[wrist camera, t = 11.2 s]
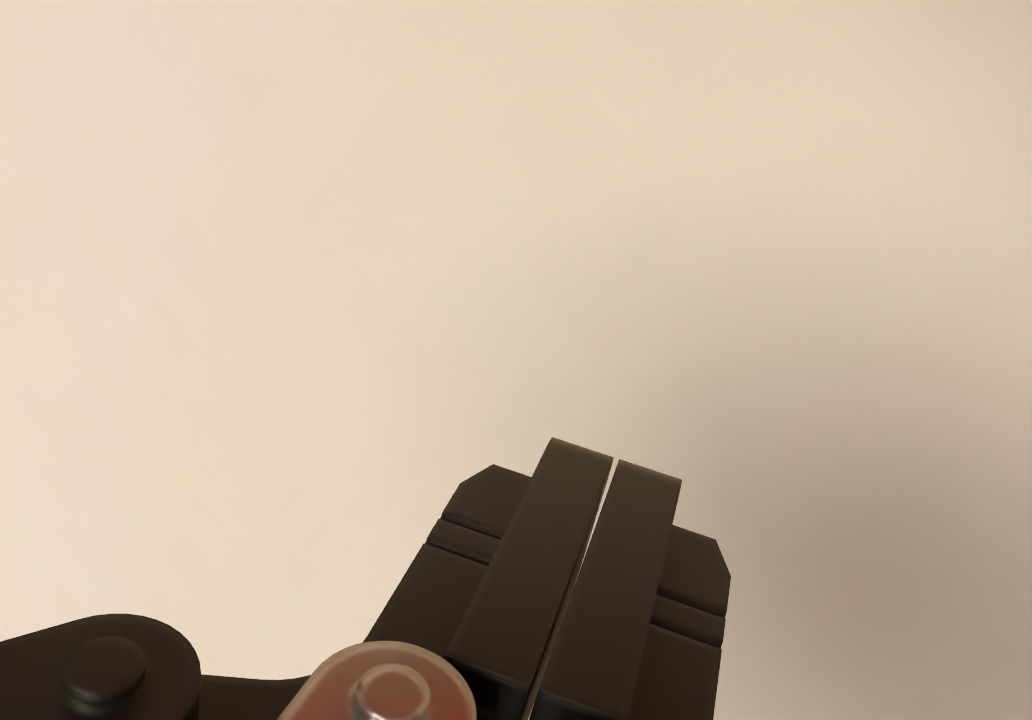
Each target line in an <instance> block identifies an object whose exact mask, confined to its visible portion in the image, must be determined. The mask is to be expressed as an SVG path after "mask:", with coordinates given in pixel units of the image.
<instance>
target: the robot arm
mask: <svg viewBox="0 0 1032 720" xmlns="http://www.w3.org/2000/svg"><path fill="white" fill-rule="evenodd" d="M613 459H614V457H611V456H607V455H604V454H601V453H598V452H595V451H592V450H589V449H586V448H583V447H580V446H577V445H574V444H571V443H568V442H565V441H562V440H559V439H556V438H553V437H552V438H551V440H550V441H549V443H548V445H547V447H546V449H545V451H544V453H543V455H542V457H541V459H540V462H539V464H538V466H537V468H536V470H535V472H534V474H533V476H532V477H529V476H526V475H523V474H520V473H517V472H514V471H511V470H508V469H505V468H502V467H500V466H497V465H494V464H493V465H491V466H489V467H488V468H486V469H484V470H482V471H481V472H479V473H477V474H476V475H474V476H472V477H470V478H469V479H467V480H465V481H463V482H462V483H460V485H459V486H458V488H457V490H456V491H455V493H454V494H453V496H452V498H451V499H450V501H449V503H448V504H447V506H446V508H445V509H444V511H443V513H442V516H441V518H440V519H438V521H437V522H436V524H435V526H434V527H433V529H432V531H431V532H430V534H429V536H428V538H427V541H426V543H425V544H423V545H422V547H421V549H420V550H419V552H418V554H417V555H416V557H415V559H414V560H413V562H412V563H411V565H410V567H409V568H408V570H407V572H406V573H405V575H404V577H403V578H402V580H401V582H400V583H399V585H398V586H397V588H396V590H395V591H394V593H393V595H392V596H391V598H390V600H389V601H388V603H387V605H386V606H385V608H384V610H383V611H382V613H381V614H380V616H379V618H378V619H377V621H376V623H375V624H374V626H373V628H372V629H371V631H370V633H369V634H368V636H367V637H366V639H365V640H364V641H363V643H360V644H356V645H353V646H350V647H347V648H345V649H343V650H341V651H339V652H337V653H335V654H333V655H332V656H331V657H329V658H328V659H326V660H325V661H324V662H323V663H322V664H321V665H320V666H319V667H318V668H317V669H316V670H315V671H314V672H313V673H312V675H309V676H305V677H300V678H295V679H285V680H259V679H247V678H236V677H224V676H213V675H201V670H200V662H199V659H198V657H197V654H196V651H195V650H194V648H193V647H192V645H191V644H190V642H189V641H188V640H187V639H186V638H185V637H184V636H183V635H182V634H181V633H180V632H178V631H177V630H175V629H174V628H172V627H171V626H169V625H167V624H165V623H163V622H160V621H158V620H156V619H152V618H148V617H145V616H139V615H132V614H105V615H96V616H91V617H87V618H83V619H78V620H75V621H71V622H68V623H64V624H61V625H57V626H54V627H50V628H47V629H43V630H40V631H36V632H33V633H29V634H26V635H22V636H19V637H15V638H12V639H8V640H5V641H2V642H0V720H528V719H529V720H713V715H714V707H715V700H716V692H717V684H718V676H719V668H720V660H721V652H722V649H721V645H722V642H723V636H724V628H725V620H726V619H725V615H726V612H727V604H728V597H729V589H730V581H731V575H730V573H729V570H728V568H727V566H726V563H725V561H724V558H723V556H722V554H721V551H720V549H719V546H718V544H717V541H716V540H715V539H712V538H709V537H706V536H703V535H701V534H698V533H695V532H692V531H689V530H686V529H683V528H680V527H677V526H674V525H672V523H673V518H674V514H675V510H676V505H677V501H678V497H679V492H680V488H681V483H682V480H681V479H678V478H675V477H672V476H669V475H666V474H663V473H659V472H656V471H653V470H650V469H647V468H644V467H641V466H638V465H635V464H632V463H629V462H626V461H623V460H620V459H619V461H618V464H617V467H616V470H615V473H614V475H613V478H612V481H611V484H610V487H609V490H608V492H607V495H606V498H605V501H604V504H603V507H602V510H601V512H600V515H599V518H598V521H597V524H596V527H595V529H594V532H593V535H592V538H591V541H590V544H589V547H588V549H587V552H586V555H585V558H584V554H585V551H586V548H587V545H588V541H589V538H590V535H591V532H592V528H593V525H594V522H595V519H596V515H597V512H598V509H599V506H600V502H601V499H602V496H603V493H604V489H605V486H606V483H607V480H608V476H609V473H610V470H611V466H612V463H613ZM583 558H584V561H583ZM582 561H583V564H582ZM581 564H582V566H581ZM580 567H581V569H580ZM579 571H580V572H579ZM578 574H579V575H578ZM577 577H578V578H577ZM576 580H577V581H576ZM533 704H534V705H533ZM532 707H533V708H532ZM531 710H532V712H531ZM530 713H531V715H530ZM529 716H530V718H529Z"/></svg>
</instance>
